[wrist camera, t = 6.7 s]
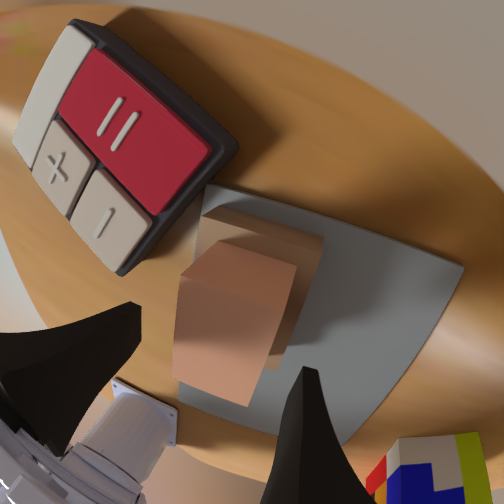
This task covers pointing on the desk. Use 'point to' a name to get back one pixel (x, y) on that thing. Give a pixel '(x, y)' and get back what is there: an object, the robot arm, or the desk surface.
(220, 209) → the walnut base brick
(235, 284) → the terracotta brick
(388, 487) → the puzzle toy
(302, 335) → the baseplate
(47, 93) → the calculator
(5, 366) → the robot arm
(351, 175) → the desk surface
